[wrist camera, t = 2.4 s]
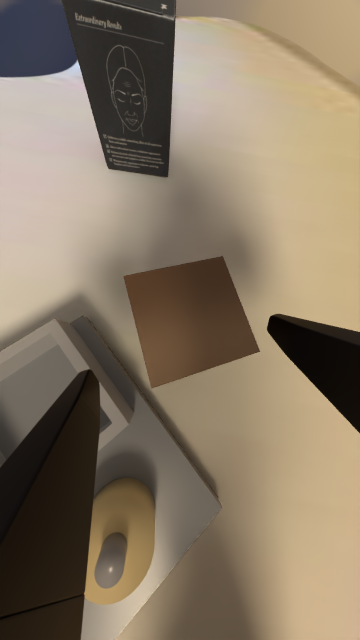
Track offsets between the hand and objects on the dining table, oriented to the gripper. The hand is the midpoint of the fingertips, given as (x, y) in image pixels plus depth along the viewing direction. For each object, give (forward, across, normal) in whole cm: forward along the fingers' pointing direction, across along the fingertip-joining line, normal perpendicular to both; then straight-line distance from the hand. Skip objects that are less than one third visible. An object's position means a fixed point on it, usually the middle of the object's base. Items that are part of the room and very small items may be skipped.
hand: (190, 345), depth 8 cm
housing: (+2, +10, +11) cm, 15 cm away
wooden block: (+7, 0, +6) cm, 9 cm away
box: (+25, -3, -12) cm, 28 cm away
